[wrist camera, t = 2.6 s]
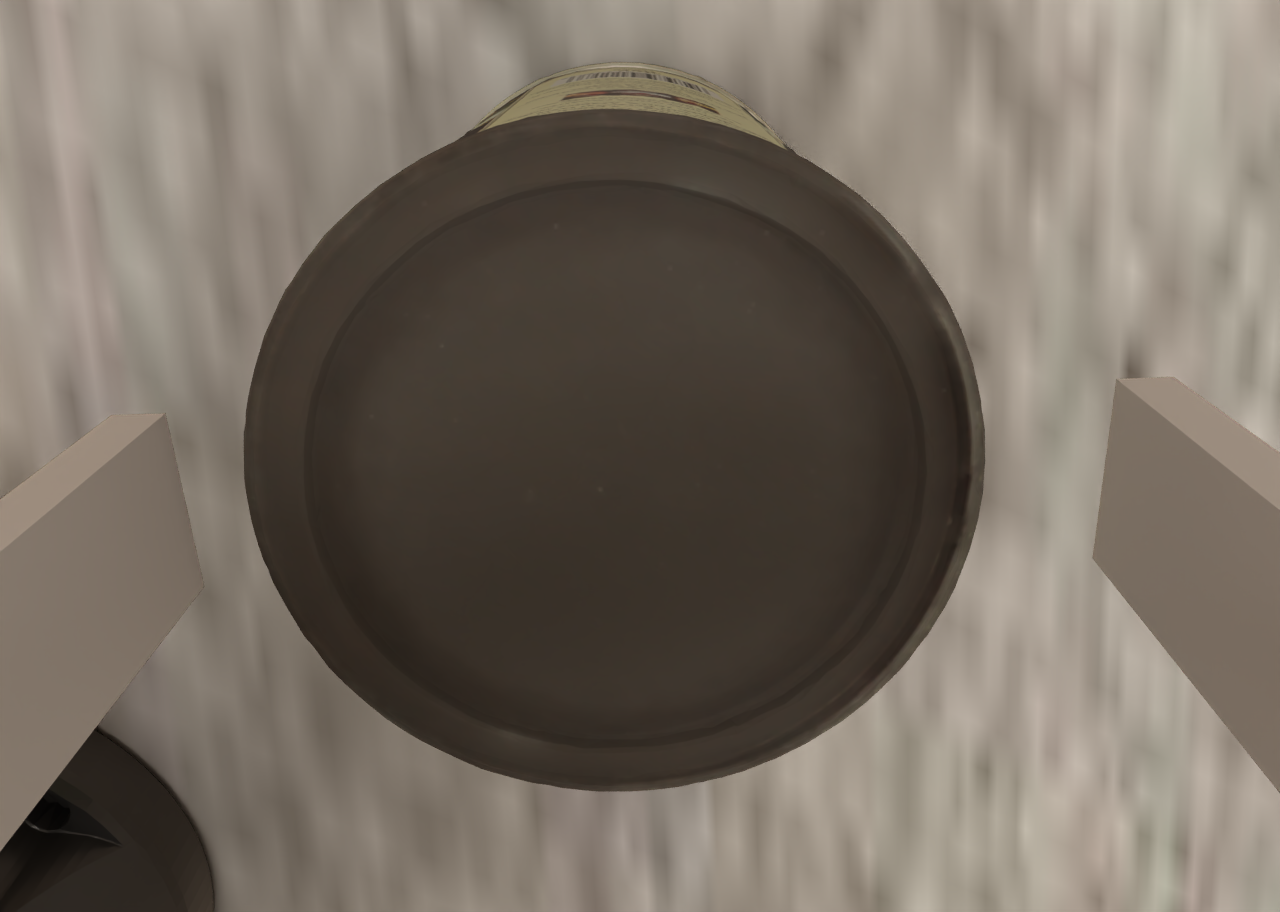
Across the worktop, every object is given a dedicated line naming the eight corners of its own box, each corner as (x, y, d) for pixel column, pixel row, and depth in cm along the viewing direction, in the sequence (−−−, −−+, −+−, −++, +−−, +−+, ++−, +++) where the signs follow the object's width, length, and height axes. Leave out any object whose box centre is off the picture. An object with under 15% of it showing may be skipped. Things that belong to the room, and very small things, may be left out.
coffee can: (522, 505, 31) (436, 873, 18) (356, 154, 27) (92, 289, 14) (872, 379, 29) (1063, 679, 16) (749, -8, 26) (866, -28, 12)
